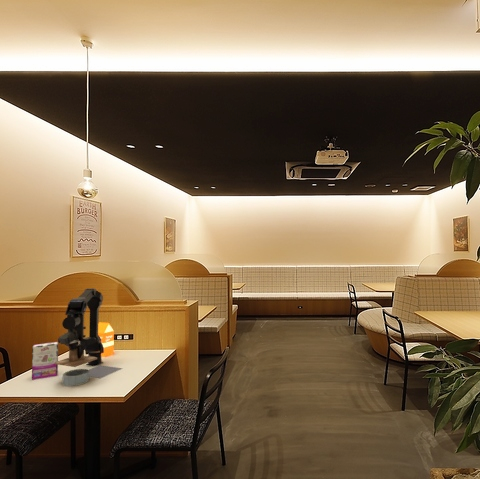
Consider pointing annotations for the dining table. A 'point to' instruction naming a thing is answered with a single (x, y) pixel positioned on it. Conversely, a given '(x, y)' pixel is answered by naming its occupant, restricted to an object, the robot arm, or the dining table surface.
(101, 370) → the mat
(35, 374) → the candy bar box
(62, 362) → the walnut lid
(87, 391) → the dining table surface
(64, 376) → the bowl
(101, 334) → the orange juice
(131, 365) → the dining table surface
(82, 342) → the robot arm
